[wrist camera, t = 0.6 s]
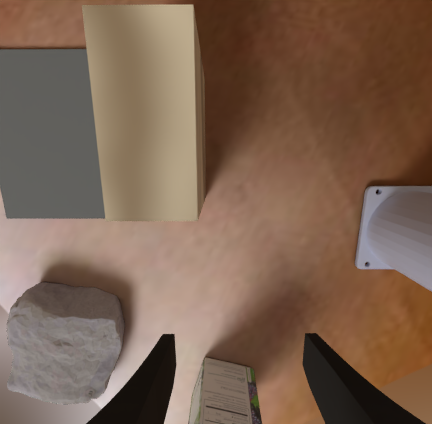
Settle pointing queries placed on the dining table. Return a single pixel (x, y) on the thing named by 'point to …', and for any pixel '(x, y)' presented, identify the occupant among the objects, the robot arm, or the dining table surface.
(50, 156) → the slate mat
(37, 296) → the stone block
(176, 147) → the birch block
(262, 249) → the dining table surface
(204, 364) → the syrup box
